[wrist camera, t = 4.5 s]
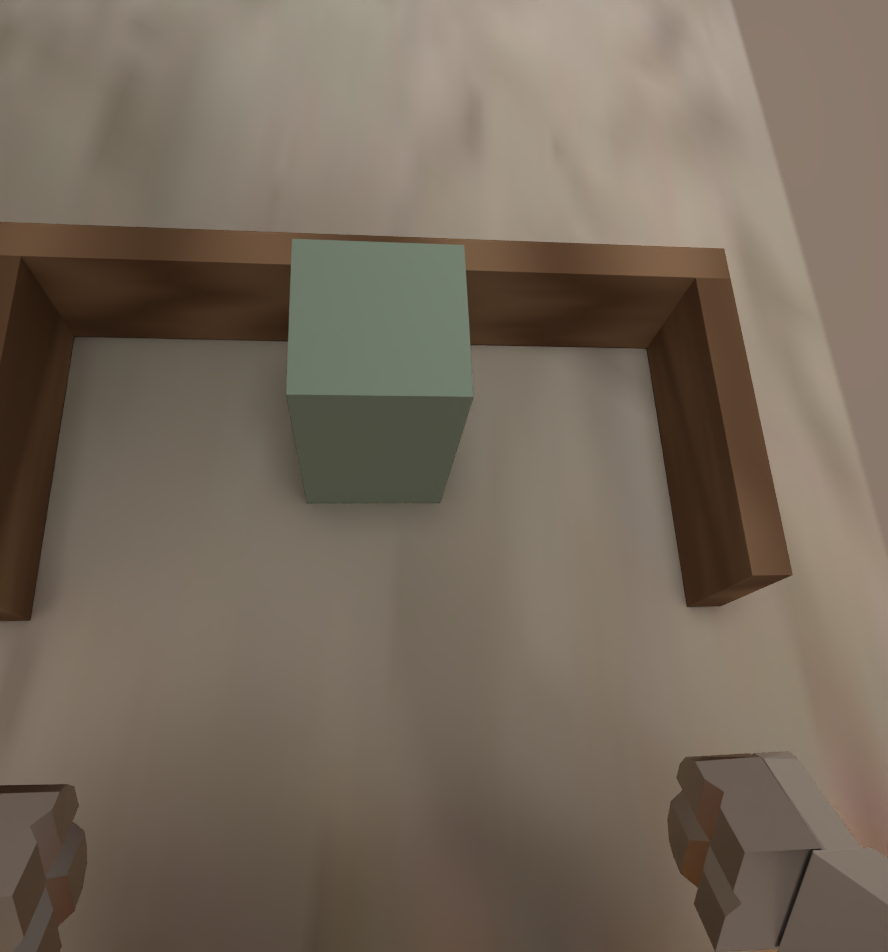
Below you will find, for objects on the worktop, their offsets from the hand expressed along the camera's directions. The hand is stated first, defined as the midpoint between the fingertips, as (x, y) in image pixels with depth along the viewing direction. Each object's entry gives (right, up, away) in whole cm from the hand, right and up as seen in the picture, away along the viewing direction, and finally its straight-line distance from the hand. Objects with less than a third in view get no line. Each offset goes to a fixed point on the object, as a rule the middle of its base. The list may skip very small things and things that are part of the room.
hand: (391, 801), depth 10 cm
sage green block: (-2, +6, +16) cm, 17 cm away
